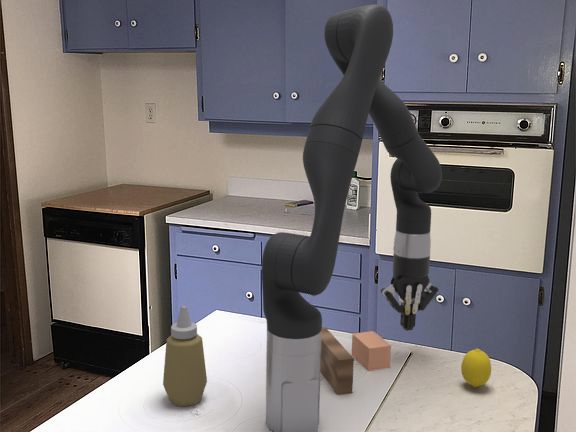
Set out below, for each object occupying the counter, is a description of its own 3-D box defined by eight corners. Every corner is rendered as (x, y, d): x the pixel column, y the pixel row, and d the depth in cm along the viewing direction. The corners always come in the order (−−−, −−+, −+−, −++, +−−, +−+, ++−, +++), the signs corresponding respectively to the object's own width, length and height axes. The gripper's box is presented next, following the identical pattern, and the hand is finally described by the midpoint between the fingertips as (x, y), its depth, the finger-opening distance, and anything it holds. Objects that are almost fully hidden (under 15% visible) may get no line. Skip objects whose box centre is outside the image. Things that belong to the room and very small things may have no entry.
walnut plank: (352, 392, 116) (353, 358, 114) (337, 394, 115) (338, 360, 114) (324, 357, 131) (325, 326, 129) (310, 358, 130) (311, 328, 129)
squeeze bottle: (168, 387, 117) (166, 298, 113) (210, 389, 116) (209, 299, 113) (158, 409, 109) (155, 314, 105) (203, 411, 109) (202, 315, 105)
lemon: (494, 387, 119) (497, 349, 117) (481, 397, 115) (484, 357, 113) (468, 377, 123) (471, 340, 121) (454, 387, 119) (457, 349, 117)
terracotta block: (389, 367, 127) (391, 345, 126) (368, 371, 125) (369, 348, 124) (372, 352, 134) (373, 331, 133) (351, 355, 133) (352, 333, 132)
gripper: (390, 259, 122) (387, 339, 126) (449, 254, 126) (443, 332, 130) (375, 249, 129) (372, 325, 133) (430, 244, 133) (426, 319, 137)
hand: (407, 328), depth 131 cm, fingers closed
